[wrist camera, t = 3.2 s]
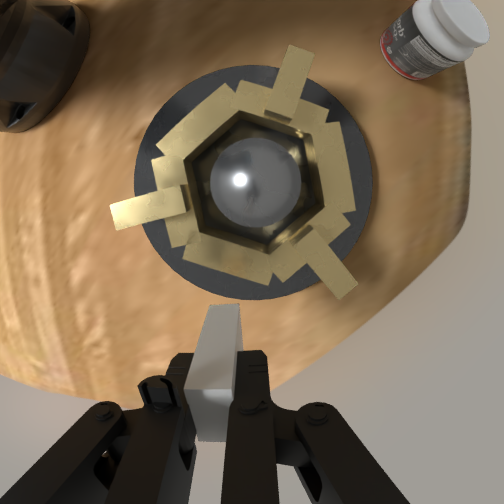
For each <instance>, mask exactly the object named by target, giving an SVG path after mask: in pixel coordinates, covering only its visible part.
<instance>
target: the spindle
mask: <svg viewBox="0 0 504 504" xmlns="http://www.w3.org/2000/svg"><path fill="white" fill-rule="evenodd" d="M210 186H211V193H212V196H213V199H214V202H215V203H216V205H217V207H218V208H219V210H220V211H221V212H222V213H223V214H224V215H225V216H226V217H227V218H229V219H230V220H232V221H233V222H235V223H237V224H239V225H243V226H246V227H265V226H269V225H272V224H275V223H277V222H278V221H280V220H282V219H283V218H284V217H286V216H287V215H288V214H289V213H290V212H291V210H292V209H293V208H294V206H295V205H296V203H297V200H298V198H299V195H300V190H301V175H300V170H299V168H298V165H297V163H296V161H295V159H294V158H293V156H292V155H291V154H290V153H289V152H288V151H287V150H286V149H285V148H284V147H283V146H281V145H279V144H278V143H276V142H274V141H271V140H268V139H263V138H248V139H243V140H240V141H238V142H236V143H234V144H232V145H230V146H229V147H228V148H226V149H225V150H224V151H223V152H222V153H221V154H220V156H219V157H218V158H217V160H216V162H215V164H214V166H213V169H212V172H211V178H210Z"/></svg>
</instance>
